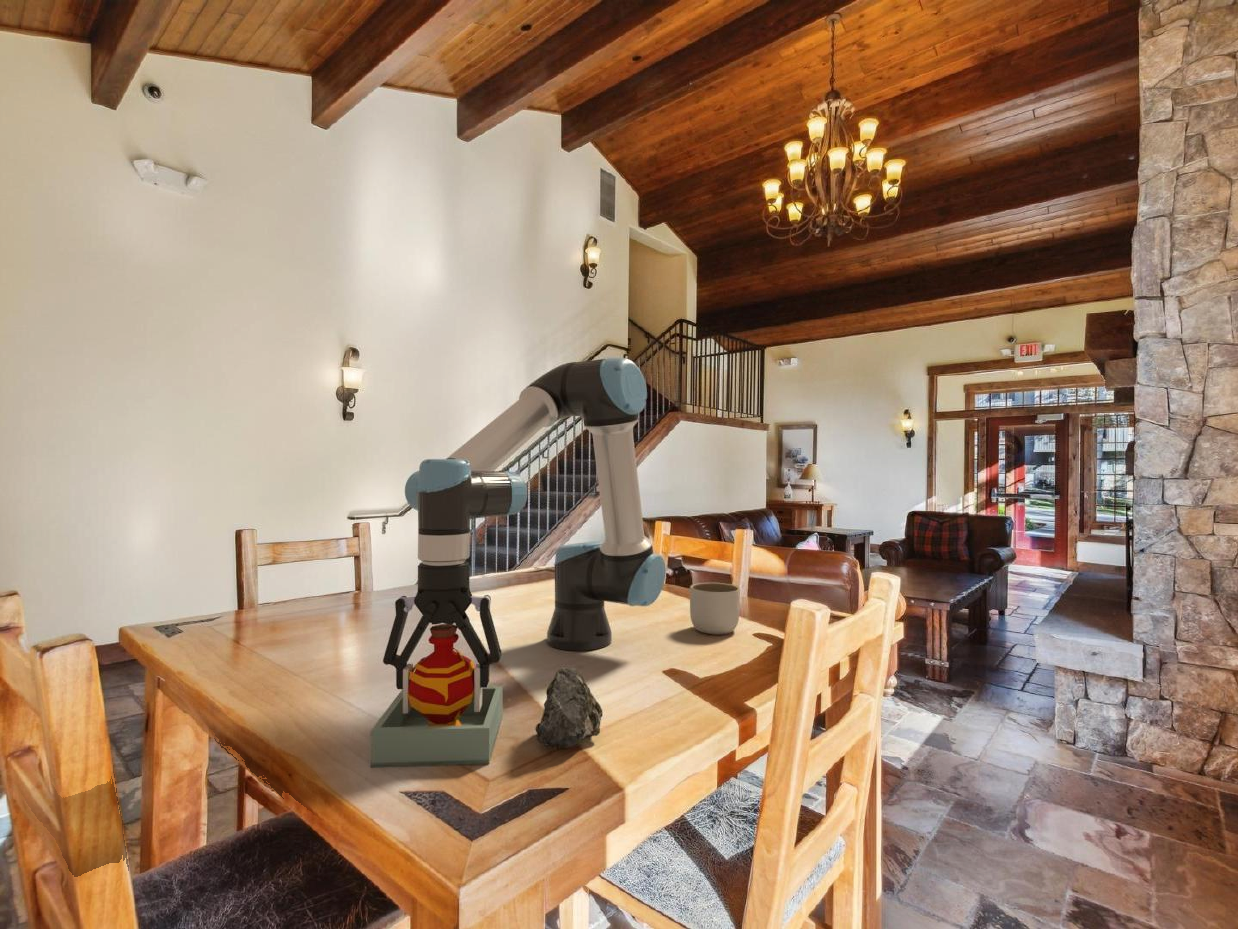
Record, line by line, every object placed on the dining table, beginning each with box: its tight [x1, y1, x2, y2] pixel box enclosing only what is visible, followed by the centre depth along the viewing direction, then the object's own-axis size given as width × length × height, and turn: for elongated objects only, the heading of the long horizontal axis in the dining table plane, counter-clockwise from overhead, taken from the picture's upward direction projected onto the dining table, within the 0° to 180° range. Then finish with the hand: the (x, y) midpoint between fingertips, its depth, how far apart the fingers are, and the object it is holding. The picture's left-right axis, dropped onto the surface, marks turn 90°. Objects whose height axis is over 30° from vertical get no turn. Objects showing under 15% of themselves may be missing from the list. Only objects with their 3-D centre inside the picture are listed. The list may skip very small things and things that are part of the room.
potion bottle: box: [408, 623, 476, 726], centre depth 92 cm, size 10×10×15 cm
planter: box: [689, 582, 741, 636], centre depth 154 cm, size 12×12×11 cm
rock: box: [535, 666, 603, 750], centre depth 93 cm, size 12×10×10 cm
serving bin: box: [369, 685, 504, 768], centre depth 92 cm, size 16×16×5 cm
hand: (443, 709), depth 92 cm, fingers closed on potion bottle, 10 cm apart
